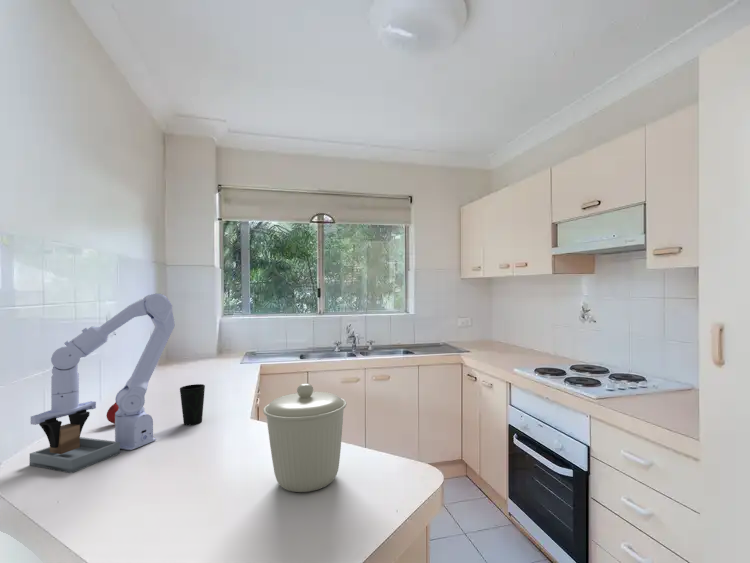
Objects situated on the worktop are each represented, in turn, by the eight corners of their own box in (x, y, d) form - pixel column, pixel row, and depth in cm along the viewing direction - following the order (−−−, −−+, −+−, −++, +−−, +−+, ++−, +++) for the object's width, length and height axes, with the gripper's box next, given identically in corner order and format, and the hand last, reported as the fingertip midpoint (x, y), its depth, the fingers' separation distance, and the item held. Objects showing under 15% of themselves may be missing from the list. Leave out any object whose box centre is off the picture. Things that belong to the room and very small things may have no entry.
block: (79, 447, 101) (79, 424, 102) (60, 454, 97) (61, 430, 97) (68, 445, 103) (68, 423, 103) (49, 452, 99) (49, 429, 99)
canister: (249, 482, 83) (247, 385, 84) (317, 456, 95) (314, 372, 96) (294, 514, 70) (291, 398, 71) (365, 479, 82) (362, 381, 84)
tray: (119, 453, 102) (119, 442, 102) (71, 473, 91) (71, 460, 91) (79, 447, 108) (80, 436, 108) (29, 465, 96) (29, 453, 96)
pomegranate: (110, 428, 124) (110, 403, 124) (103, 425, 127) (103, 401, 128) (130, 423, 128) (130, 399, 129) (123, 420, 132) (123, 397, 132)
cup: (198, 426, 123) (198, 389, 124) (175, 426, 123) (175, 389, 124) (209, 418, 131) (208, 383, 131) (187, 419, 131) (187, 384, 131)
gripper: (84, 385, 109) (84, 432, 108) (23, 398, 95) (22, 452, 95) (101, 386, 107) (101, 435, 106) (40, 399, 93) (40, 455, 92)
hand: (65, 443), depth 100 cm, fingers closed on block, 4 cm apart
